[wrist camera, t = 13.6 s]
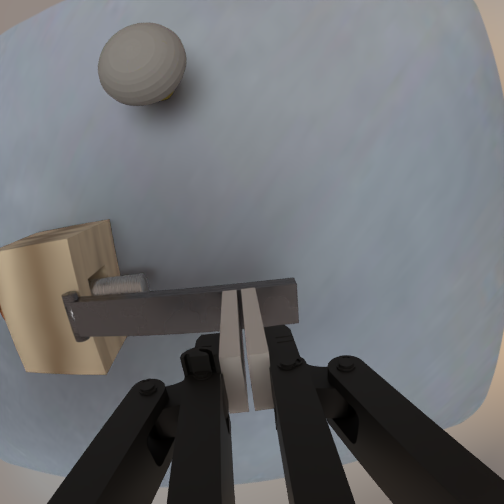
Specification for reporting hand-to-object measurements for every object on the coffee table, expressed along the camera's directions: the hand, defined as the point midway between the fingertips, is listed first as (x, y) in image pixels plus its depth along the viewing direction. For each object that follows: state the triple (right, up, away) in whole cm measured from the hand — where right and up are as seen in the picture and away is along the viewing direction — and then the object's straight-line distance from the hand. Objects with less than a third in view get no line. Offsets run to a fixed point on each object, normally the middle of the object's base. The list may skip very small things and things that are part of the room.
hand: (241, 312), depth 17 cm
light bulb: (-7, +16, +6) cm, 19 cm away
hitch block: (-15, +1, +9) cm, 17 cm away
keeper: (-4, 0, +1) cm, 4 cm away
